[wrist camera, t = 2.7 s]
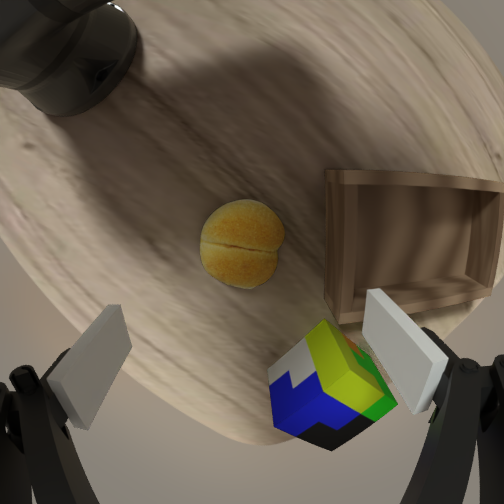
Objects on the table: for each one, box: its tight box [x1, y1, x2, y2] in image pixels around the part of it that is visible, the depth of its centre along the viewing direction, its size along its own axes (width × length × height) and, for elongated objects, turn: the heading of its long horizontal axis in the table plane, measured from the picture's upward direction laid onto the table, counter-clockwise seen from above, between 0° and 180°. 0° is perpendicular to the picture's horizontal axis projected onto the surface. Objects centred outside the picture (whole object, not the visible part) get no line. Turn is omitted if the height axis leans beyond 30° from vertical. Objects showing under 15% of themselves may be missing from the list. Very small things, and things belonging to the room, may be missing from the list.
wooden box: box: [324, 170, 504, 324], centre depth 27 cm, size 22×14×6 cm, turn 93°
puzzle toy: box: [267, 318, 398, 451], centre depth 30 cm, size 10×10×10 cm
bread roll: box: [200, 199, 285, 289], centre depth 28 cm, size 8×9×4 cm
